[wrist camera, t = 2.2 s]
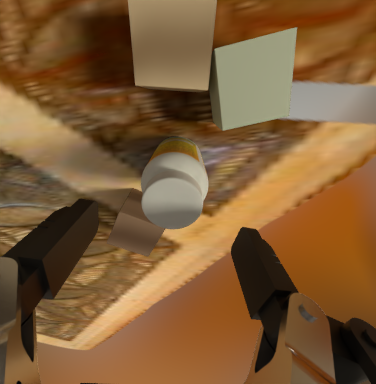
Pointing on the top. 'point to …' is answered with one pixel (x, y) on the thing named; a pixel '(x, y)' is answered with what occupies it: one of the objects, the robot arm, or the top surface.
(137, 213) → the walnut block
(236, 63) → the sage block
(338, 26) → the top surface
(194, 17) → the oak block
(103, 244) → the top surface
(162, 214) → the supplement bottle
